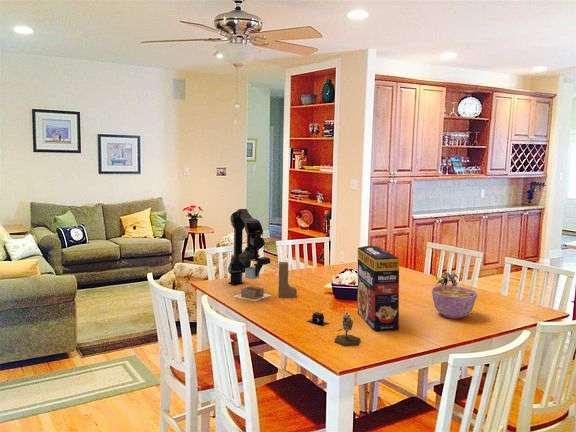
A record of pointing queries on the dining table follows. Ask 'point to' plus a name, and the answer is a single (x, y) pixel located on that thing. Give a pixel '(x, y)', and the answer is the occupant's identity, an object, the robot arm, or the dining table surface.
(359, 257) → the cereal box
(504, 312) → the dining table surface
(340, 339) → the robot figurine
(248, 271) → the gray cube
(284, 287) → the wooden block
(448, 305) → the bowl of food
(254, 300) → the felt mat
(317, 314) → the black block
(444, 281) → the plant sprig
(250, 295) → the walnut base
